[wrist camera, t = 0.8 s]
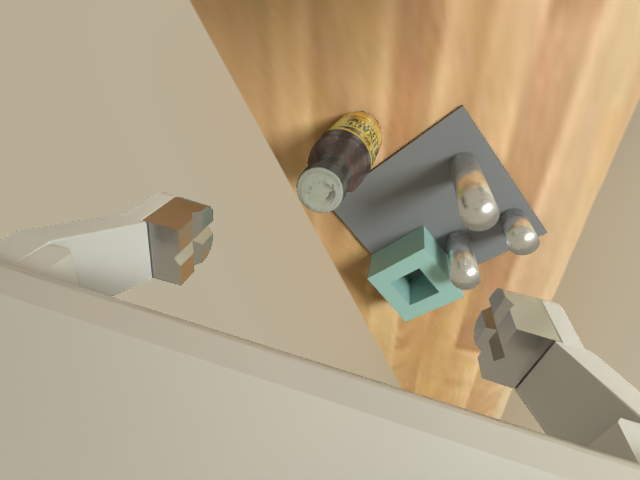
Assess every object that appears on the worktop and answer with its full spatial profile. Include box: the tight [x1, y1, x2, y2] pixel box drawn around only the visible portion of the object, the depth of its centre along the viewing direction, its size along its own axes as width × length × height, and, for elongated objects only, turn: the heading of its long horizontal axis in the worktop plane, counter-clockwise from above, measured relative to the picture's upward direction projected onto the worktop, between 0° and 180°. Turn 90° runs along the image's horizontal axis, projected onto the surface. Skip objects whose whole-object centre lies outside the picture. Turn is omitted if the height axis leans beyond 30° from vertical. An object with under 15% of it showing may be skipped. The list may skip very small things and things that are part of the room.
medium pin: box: [446, 230, 480, 290], centre depth 45 cm, size 3×3×9 cm
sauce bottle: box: [296, 111, 382, 213], centre depth 37 cm, size 6×6×20 cm
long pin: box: [449, 152, 500, 231], centre depth 38 cm, size 3×3×14 cm
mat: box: [333, 105, 547, 280], centre depth 48 cm, size 21×20×1 cm
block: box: [367, 225, 464, 322], centre depth 50 cm, size 9×9×6 cm
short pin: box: [498, 208, 540, 255], centre depth 43 cm, size 3×3×6 cm
